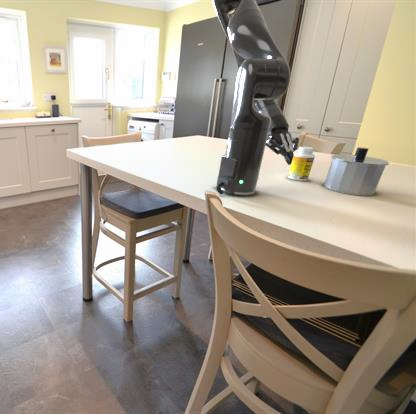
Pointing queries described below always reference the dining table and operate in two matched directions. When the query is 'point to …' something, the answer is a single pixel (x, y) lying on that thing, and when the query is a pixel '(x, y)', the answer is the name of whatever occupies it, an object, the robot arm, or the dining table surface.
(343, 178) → the pot
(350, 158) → the pot lid
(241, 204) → the dining table surface
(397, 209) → the dining table surface
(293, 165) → the supplement bottle
